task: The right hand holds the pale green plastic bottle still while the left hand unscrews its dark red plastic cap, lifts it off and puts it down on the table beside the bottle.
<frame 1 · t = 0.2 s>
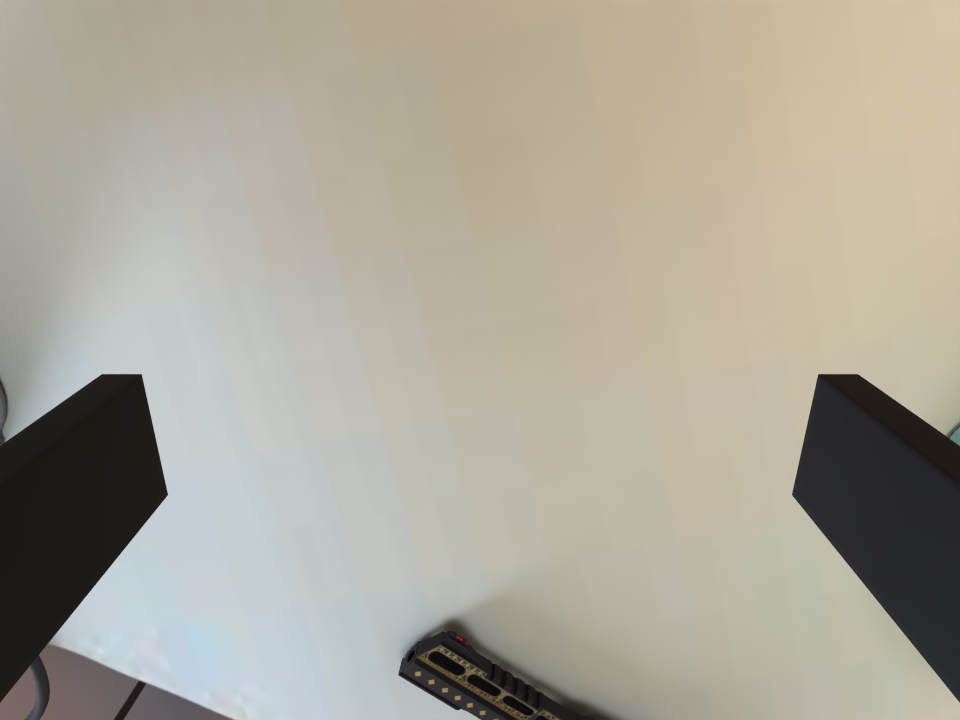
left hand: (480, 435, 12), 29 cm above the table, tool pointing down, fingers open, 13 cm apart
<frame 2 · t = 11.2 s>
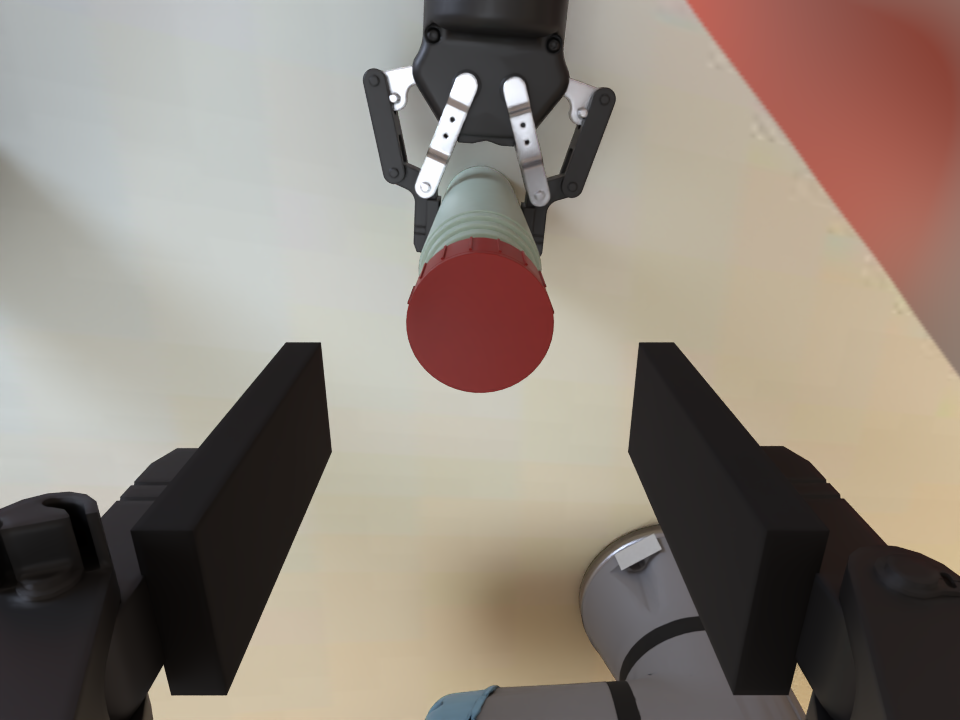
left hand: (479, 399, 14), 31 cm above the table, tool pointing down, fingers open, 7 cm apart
right hand: (477, 262, 38), fingers closed on bottle, 5 cm apart
bottle: (480, 203, 43), on the table, touching right hand
cap: (480, 323, 19), point 26 cm above the table, screwed on, not yet turned
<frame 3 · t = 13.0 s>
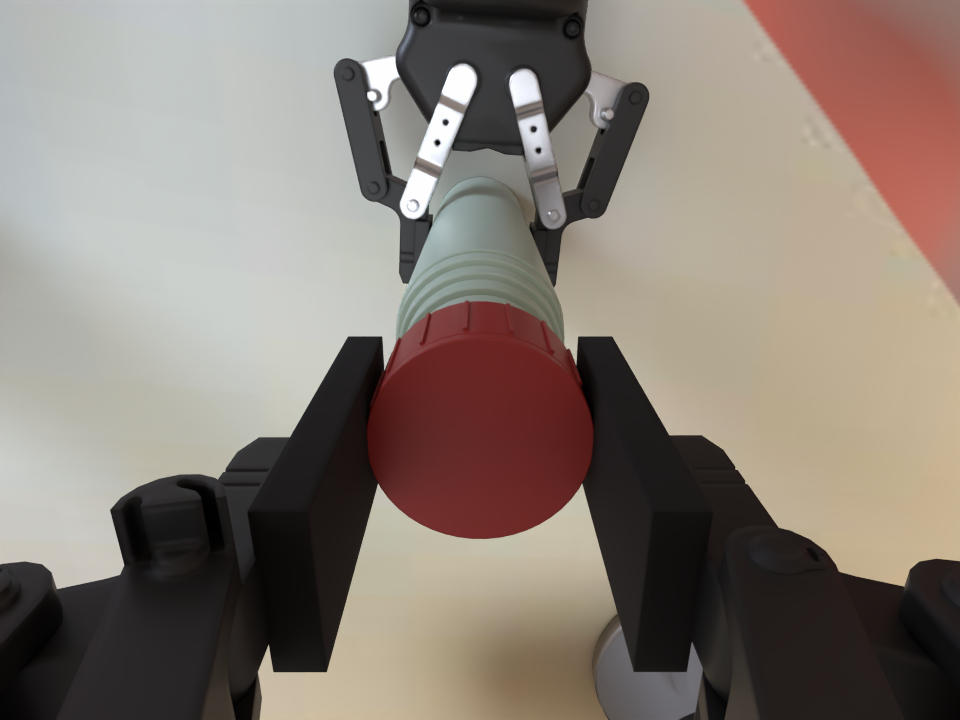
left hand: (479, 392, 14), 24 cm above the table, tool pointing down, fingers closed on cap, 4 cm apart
right hand: (476, 294, 31), fingers closed on bottle, 5 cm apart
bottle: (480, 220, 37), on the table, touching right hand
cap: (480, 438, 12), point 26 cm above the table, screwed on, not yet turned, touching left hand
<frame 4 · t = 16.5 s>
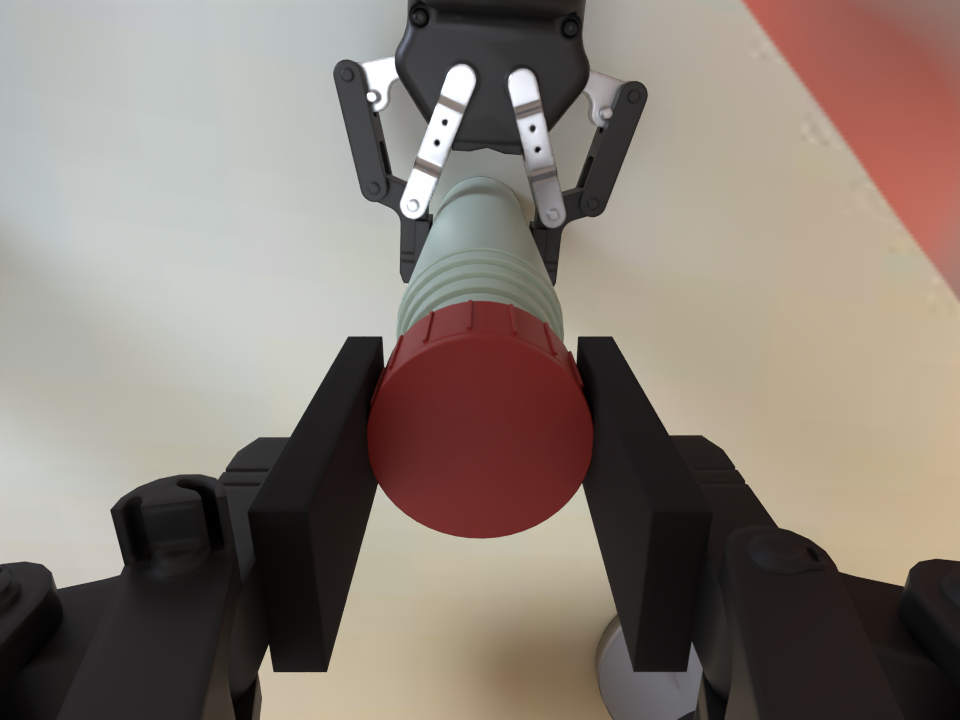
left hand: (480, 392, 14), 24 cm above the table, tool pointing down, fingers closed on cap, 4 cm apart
right hand: (477, 294, 32), fingers closed on bottle, 5 cm apart
bottle: (480, 219, 37), on the table, touching right hand
cap: (480, 437, 12), point 26 cm above the table, turned 110° so far, risen 0.1 cm, still on its thread, touching left hand
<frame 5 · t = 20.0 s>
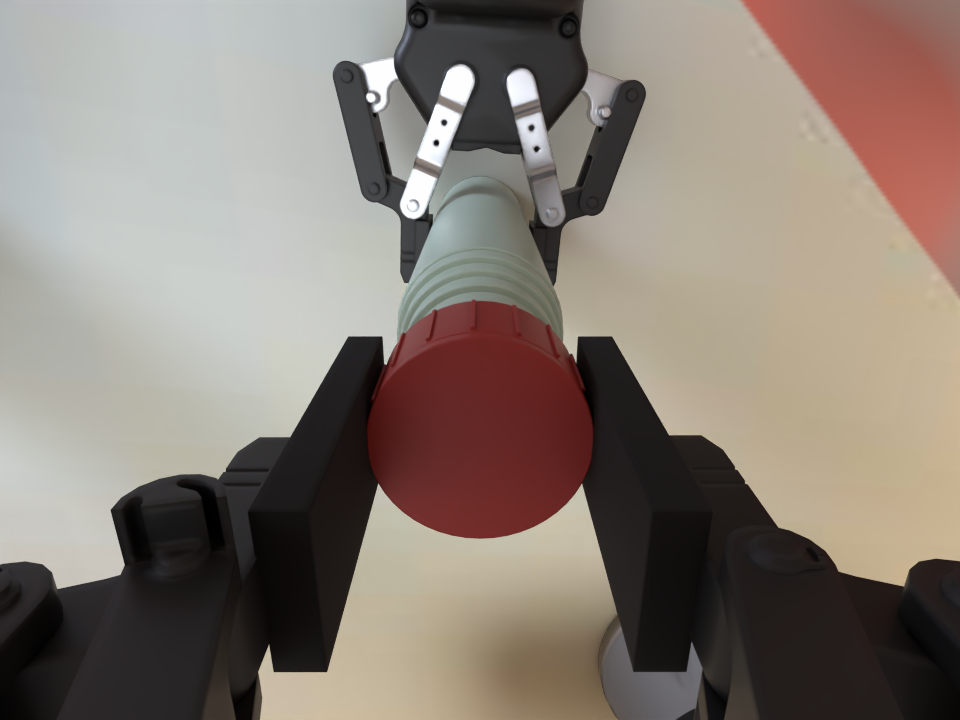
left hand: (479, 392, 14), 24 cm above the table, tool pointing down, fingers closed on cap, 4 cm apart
right hand: (477, 293, 32), fingers closed on bottle, 5 cm apart
bottle: (480, 219, 37), on the table, touching right hand
cap: (480, 437, 12), point 26 cm above the table, turned 220° so far, risen 0.3 cm, still on its thread, touching left hand
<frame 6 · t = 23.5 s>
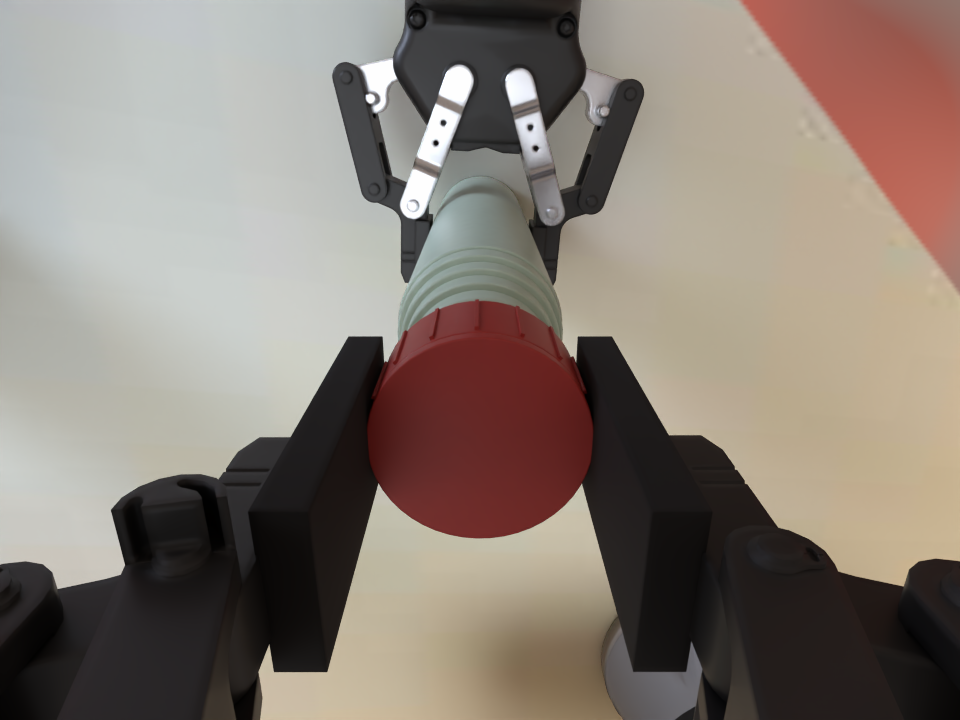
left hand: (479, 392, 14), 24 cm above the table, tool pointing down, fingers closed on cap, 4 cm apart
right hand: (478, 292, 32), fingers closed on bottle, 5 cm apart
bottle: (480, 219, 37), on the table, touching right hand
cap: (480, 437, 12), point 26 cm above the table, turned 331° so far, risen 0.4 cm, still on its thread, touching left hand
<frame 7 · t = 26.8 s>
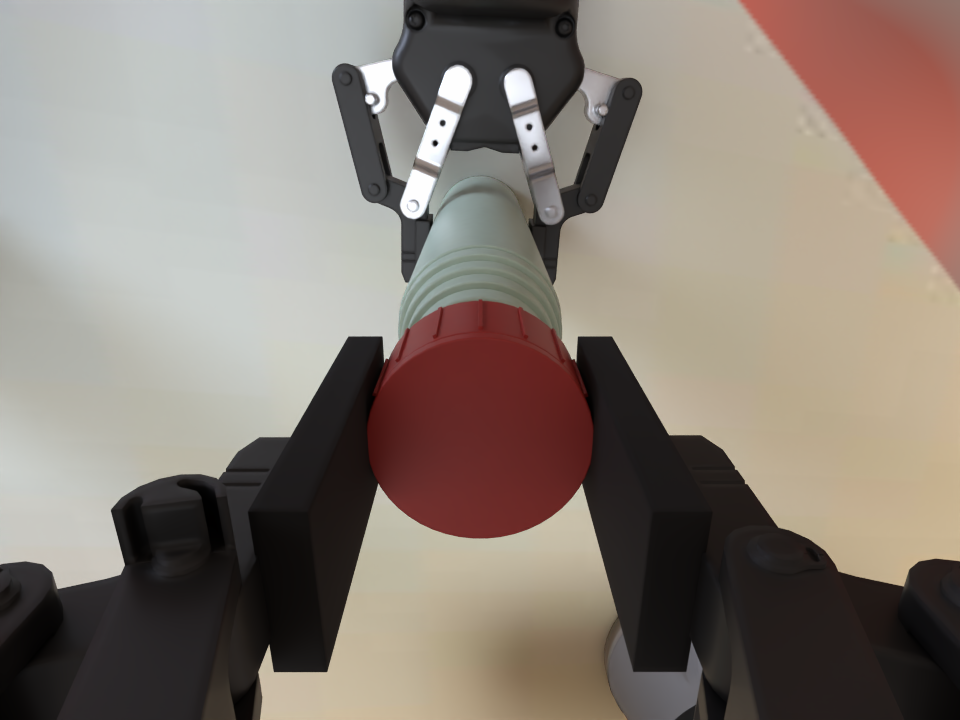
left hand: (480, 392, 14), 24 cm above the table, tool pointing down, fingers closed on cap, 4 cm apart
right hand: (478, 291, 32), fingers closed on bottle, 5 cm apart
bottle: (480, 218, 37), on the table, touching right hand
cap: (480, 437, 12), point 27 cm above the table, turned 441° so far, risen 0.5 cm, still on its thread, touching left hand
when the left hand's fingers open (2 cm above the table, at t = 34.7 s): cap drops 2 cm, point 2 cm above the table.
when the right hand's fingers open (7 cm above the table, at t = 36.0 s): bottle stays where it is, on the table.
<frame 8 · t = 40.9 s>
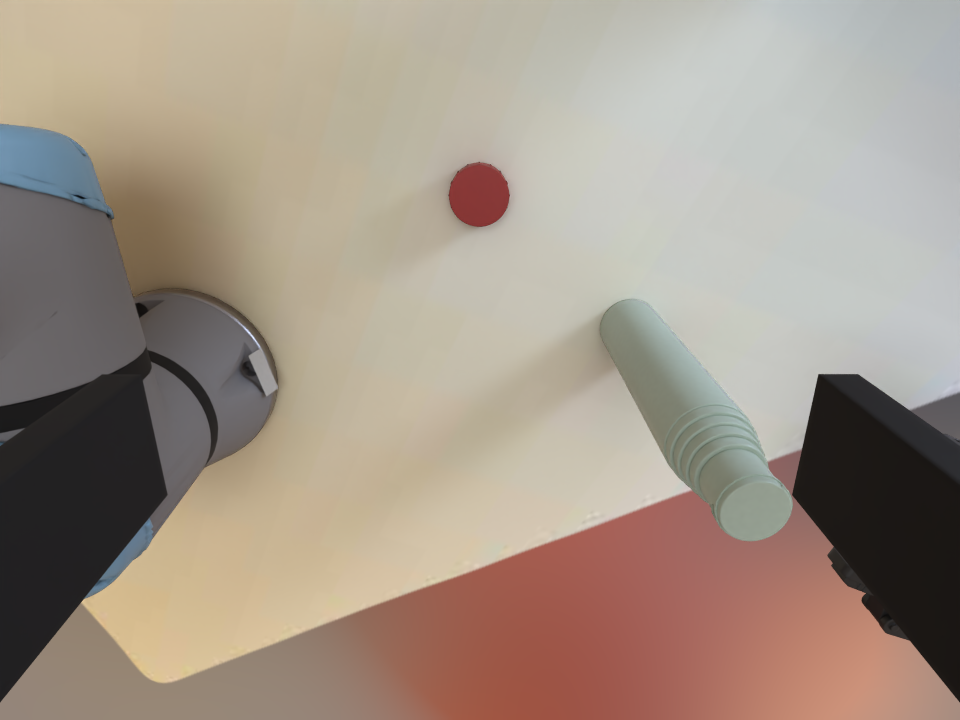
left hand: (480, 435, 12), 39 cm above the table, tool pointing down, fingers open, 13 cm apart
bottle: (629, 327, 52), on the table
cap: (479, 195, 46), point 2 cm above the table, off its thread
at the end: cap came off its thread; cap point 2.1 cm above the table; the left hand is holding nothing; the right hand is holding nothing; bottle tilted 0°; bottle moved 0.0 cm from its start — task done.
